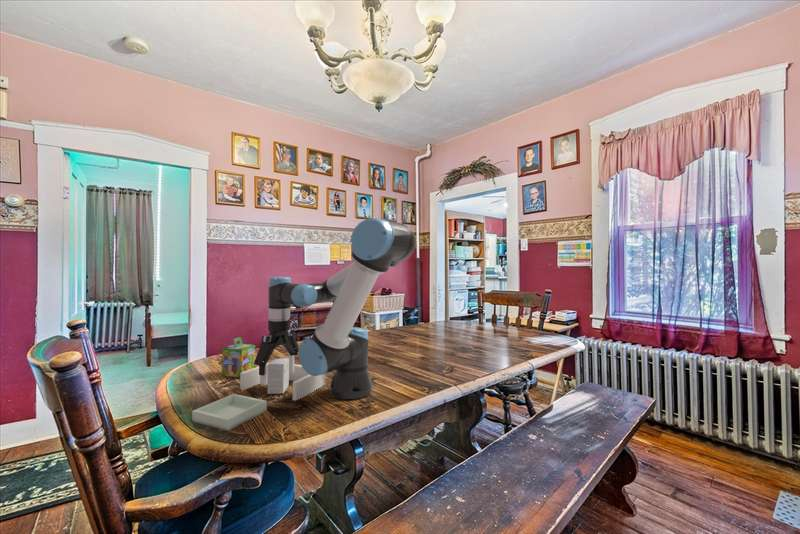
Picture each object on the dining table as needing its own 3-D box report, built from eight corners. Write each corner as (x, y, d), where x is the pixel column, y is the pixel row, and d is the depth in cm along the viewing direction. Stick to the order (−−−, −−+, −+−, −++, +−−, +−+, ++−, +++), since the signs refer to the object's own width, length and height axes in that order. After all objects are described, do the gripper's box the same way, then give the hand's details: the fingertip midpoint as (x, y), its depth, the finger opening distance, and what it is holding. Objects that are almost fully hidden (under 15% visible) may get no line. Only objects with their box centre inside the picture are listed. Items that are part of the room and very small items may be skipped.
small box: (273, 385, 124) (274, 357, 124) (289, 385, 124) (289, 357, 124) (266, 394, 116) (267, 364, 116) (283, 393, 116) (283, 363, 116)
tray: (266, 410, 103) (266, 400, 103) (227, 431, 90) (228, 419, 90) (233, 402, 108) (233, 393, 108) (192, 421, 95) (192, 410, 95)
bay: (325, 384, 126) (325, 368, 126) (296, 400, 110) (296, 382, 110) (273, 375, 135) (273, 361, 135) (240, 389, 120) (240, 372, 120)
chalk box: (241, 378, 131) (241, 341, 131) (221, 376, 133) (221, 339, 133) (255, 371, 140) (256, 336, 140) (236, 369, 142) (237, 335, 142)
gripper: (294, 314, 133) (292, 366, 133) (243, 323, 110) (242, 387, 110) (309, 315, 130) (308, 369, 130) (260, 326, 107) (259, 391, 107)
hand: (277, 377), depth 120 cm, fingers open, 13 cm apart
